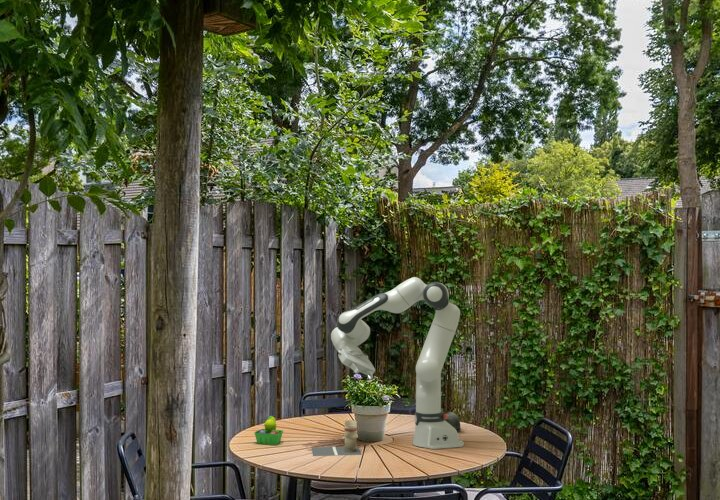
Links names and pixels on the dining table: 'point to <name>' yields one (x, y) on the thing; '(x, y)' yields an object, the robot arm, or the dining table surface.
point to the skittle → (350, 436)
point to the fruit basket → (269, 433)
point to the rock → (453, 420)
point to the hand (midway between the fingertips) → (364, 375)
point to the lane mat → (333, 451)
